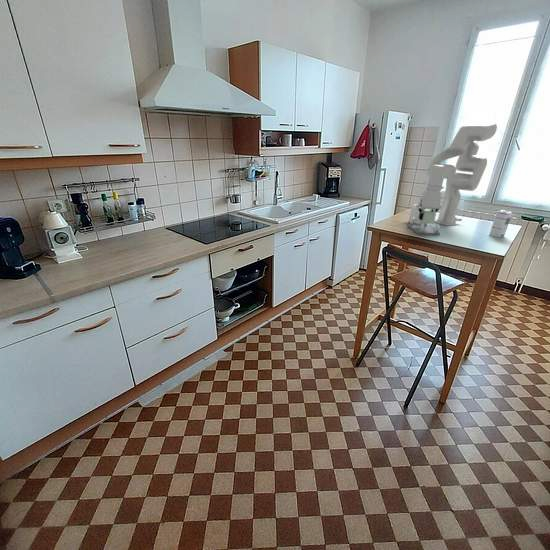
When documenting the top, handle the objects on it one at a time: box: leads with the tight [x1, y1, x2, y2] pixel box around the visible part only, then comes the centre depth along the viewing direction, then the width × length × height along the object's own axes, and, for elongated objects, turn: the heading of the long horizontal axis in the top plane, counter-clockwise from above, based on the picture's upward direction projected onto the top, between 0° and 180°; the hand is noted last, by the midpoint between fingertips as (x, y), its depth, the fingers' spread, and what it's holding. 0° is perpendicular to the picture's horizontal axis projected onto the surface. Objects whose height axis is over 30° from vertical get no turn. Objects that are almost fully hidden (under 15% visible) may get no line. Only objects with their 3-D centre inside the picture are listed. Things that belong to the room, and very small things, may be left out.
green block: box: [417, 209, 437, 225], centre depth 173 cm, size 5×11×6 cm, turn 178°
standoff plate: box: [407, 217, 441, 236], centre depth 176 cm, size 12×17×6 cm
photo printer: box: [408, 203, 429, 225], centre depth 190 cm, size 10×4×12 cm, turn 39°
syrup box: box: [489, 209, 513, 238], centre depth 169 cm, size 6×6×14 cm
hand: (425, 219), depth 174 cm, fingers closed on green block, 5 cm apart
